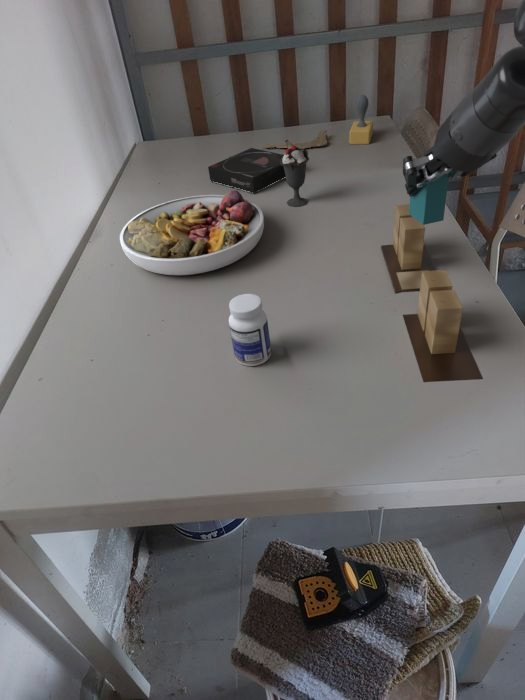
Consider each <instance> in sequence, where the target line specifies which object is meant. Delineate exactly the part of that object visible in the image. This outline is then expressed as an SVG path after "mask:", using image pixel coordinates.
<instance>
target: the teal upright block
mask: <svg viewBox="0 0 525 700" xmlns="http://www.w3.org/2000/svg"><path fill="white" fill-rule="evenodd" d="M422 175H423V172H422ZM423 178H424V175H423ZM448 179H449V173H448V174H444V175H442V176H441V177H440V178H439V179H437V180H436V181H435V182H428V183H427V184H426V185H424V187H423V188H422V189H421V190H420V191H419V192H418V193H417V194H416V195H415V196H412V197H410V196H409V204H410V206H409V214H410V215H411V216H413V217H414V218H415V219H416V220H418V221H419V222H420V223H421V224H423V225H424V226H425V225H429V224H430V225H431V224H434V223H438V222H443V221H444V217H445V210H446V202H447V194H448V187H449V181H448Z"/></svg>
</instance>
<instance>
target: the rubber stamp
mask: <svg viewBox="0 0 525 700" xmlns="http://www.w3.org/2000/svg"><path fill="white" fill-rule="evenodd" d="M355 105H356V106H355V107H356V110H357V113H358V117H359V120H355V121H353V123H352V125H351V128H350V130H349V144H350V145H369V144H370V143H371V140H372V136H373V133H374V121H373V120H365V117H366V114H367V111H368V108H369V99H368V97H367V95H365V94H361V95H359V96H357V98H356V101H355Z"/></svg>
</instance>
